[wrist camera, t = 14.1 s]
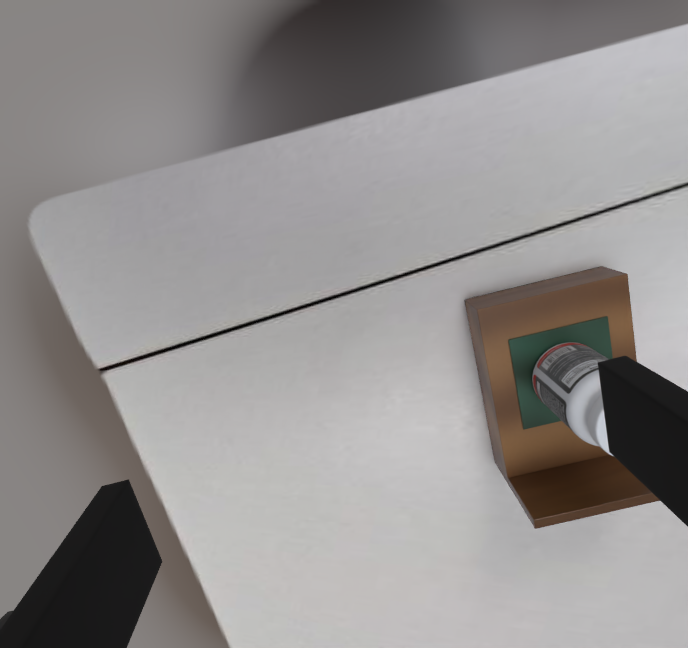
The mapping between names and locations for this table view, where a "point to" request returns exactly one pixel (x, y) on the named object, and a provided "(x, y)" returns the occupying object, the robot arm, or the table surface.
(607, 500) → the shelf
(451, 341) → the table surface
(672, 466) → the robot arm
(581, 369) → the pill bottle
